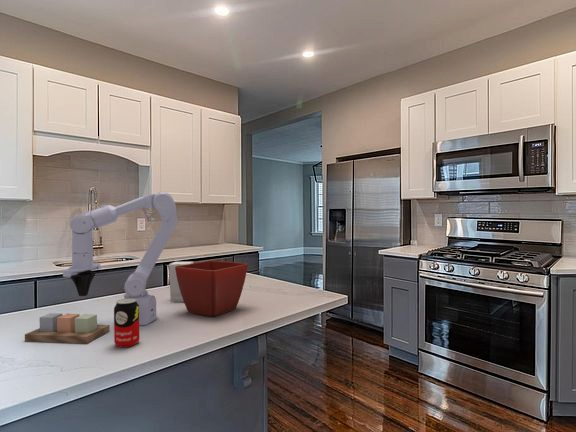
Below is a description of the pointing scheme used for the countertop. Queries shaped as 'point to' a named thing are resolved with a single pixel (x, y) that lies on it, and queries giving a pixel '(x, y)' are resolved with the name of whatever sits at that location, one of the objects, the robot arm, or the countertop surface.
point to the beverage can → (126, 322)
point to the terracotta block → (66, 323)
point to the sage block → (85, 323)
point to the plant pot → (211, 286)
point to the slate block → (49, 322)
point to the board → (67, 336)
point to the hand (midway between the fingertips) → (83, 295)
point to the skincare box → (175, 282)
